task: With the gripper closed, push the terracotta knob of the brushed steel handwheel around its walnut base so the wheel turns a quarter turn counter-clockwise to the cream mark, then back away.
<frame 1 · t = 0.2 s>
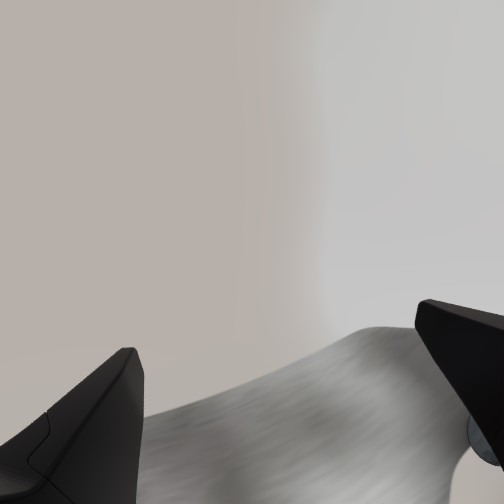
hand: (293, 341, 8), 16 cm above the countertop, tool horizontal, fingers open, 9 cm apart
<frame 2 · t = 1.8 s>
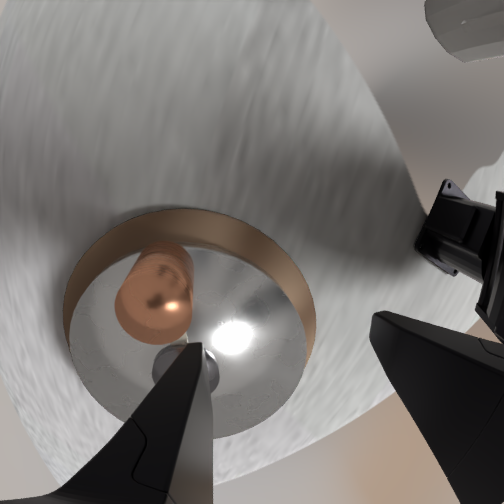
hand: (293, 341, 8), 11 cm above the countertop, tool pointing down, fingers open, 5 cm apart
water bottle: (443, 31, 16), on the countertop
handwheel: (184, 378, 16), point 5 cm above the countertop, hinge at 0.0°
wheel base: (187, 338, 20), on the countertop
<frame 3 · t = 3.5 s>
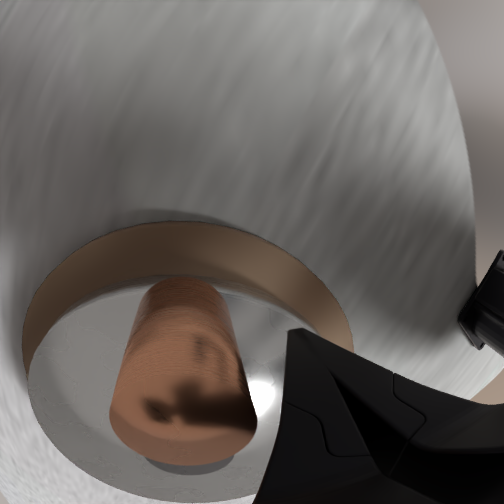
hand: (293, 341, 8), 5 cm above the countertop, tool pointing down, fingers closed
handwheel: (188, 458, 10), point 5 cm above the countertop, hinge at 3.3°, touching gripper
wheel base: (185, 391, 14), on the countertop
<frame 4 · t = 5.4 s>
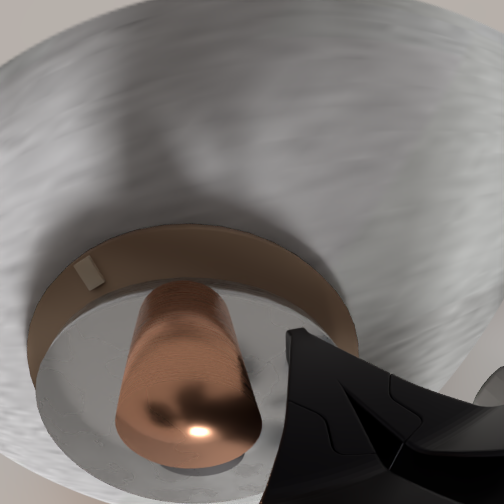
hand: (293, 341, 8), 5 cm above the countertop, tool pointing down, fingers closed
water bottle: (485, 385, 24), on the countertop
handwheel: (199, 459, 10), point 5 cm above the countertop, hinge at 62.6°, touching gripper
wheel base: (192, 392, 14), on the countertop
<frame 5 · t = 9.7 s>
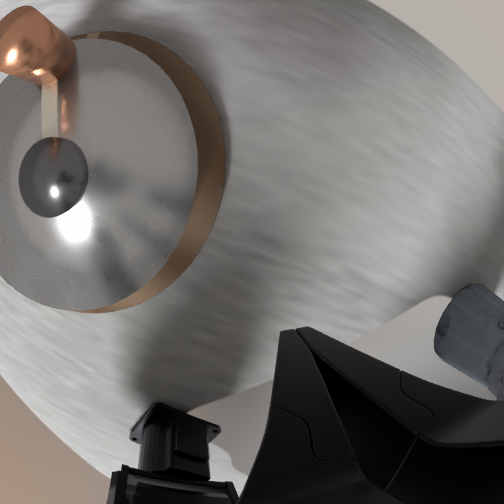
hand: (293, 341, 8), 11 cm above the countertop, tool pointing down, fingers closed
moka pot: (462, 320, 25), on the countertop
handwheel: (44, 173, 11), point 5 cm above the countertop, hinge at 100.5°
wheel base: (80, 172, 16), on the countertop
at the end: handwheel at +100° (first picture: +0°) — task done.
